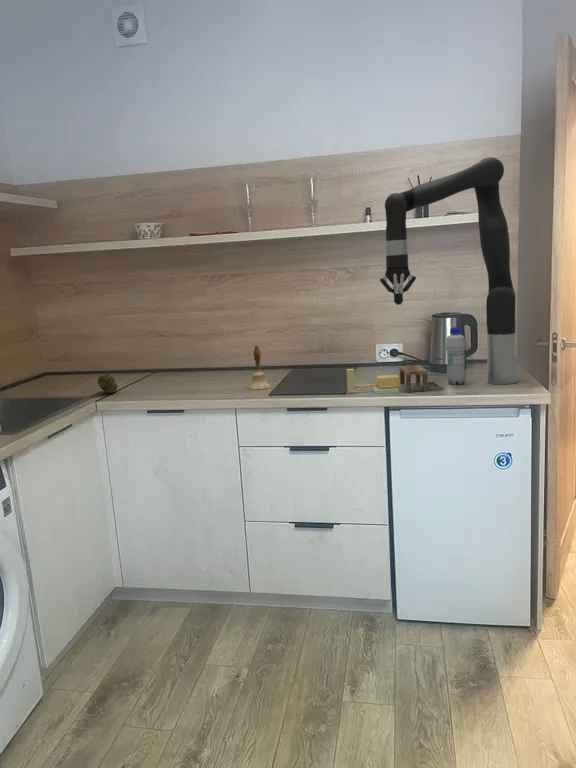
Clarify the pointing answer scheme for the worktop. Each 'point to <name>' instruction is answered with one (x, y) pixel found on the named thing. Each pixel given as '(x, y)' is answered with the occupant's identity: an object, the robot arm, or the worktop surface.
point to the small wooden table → (411, 371)
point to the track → (398, 388)
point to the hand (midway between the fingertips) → (398, 304)
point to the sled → (382, 382)
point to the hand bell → (258, 374)
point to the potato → (107, 383)
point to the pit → (434, 386)
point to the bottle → (455, 357)
